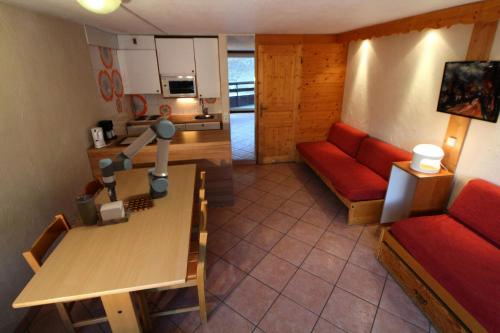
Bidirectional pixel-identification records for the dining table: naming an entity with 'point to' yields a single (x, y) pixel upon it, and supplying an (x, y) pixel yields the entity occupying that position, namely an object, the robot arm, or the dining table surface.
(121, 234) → the dining table surface
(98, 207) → the brown small blob
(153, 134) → the robot arm
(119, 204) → the carton
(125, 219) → the display bay
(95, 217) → the canister
